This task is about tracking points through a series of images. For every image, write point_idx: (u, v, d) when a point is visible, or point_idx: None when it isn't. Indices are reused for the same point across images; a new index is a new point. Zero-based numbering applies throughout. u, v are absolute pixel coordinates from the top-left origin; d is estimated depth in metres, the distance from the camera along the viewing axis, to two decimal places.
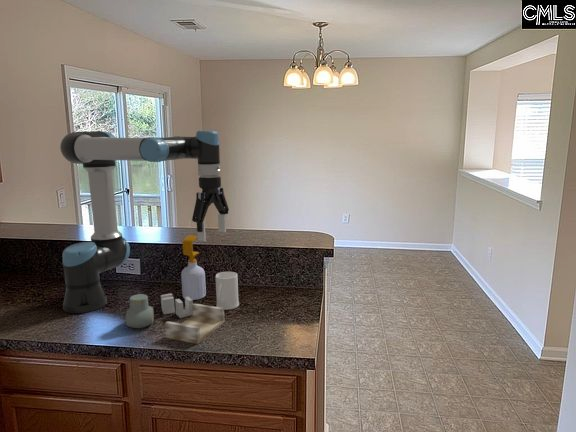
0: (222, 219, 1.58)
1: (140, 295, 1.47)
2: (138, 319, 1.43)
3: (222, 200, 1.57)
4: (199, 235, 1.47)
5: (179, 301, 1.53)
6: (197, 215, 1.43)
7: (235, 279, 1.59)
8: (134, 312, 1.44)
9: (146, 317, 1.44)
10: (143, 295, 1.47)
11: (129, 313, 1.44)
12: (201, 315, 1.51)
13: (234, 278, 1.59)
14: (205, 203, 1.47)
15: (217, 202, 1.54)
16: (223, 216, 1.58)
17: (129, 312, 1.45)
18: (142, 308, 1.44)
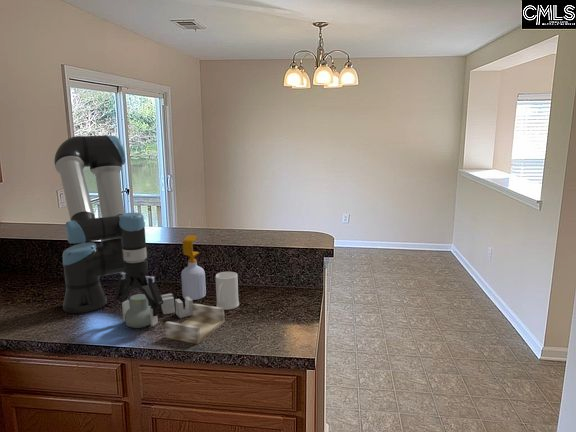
0: None
1: (140, 295, 1.47)
2: (138, 318, 1.42)
3: None
4: None
5: (179, 301, 1.53)
6: None
7: (235, 279, 1.59)
8: (134, 312, 1.44)
9: (146, 316, 1.44)
10: (143, 295, 1.47)
11: (129, 313, 1.44)
12: (201, 315, 1.51)
13: (234, 278, 1.59)
14: None
15: None
16: None
17: (129, 312, 1.45)
18: (142, 307, 1.44)
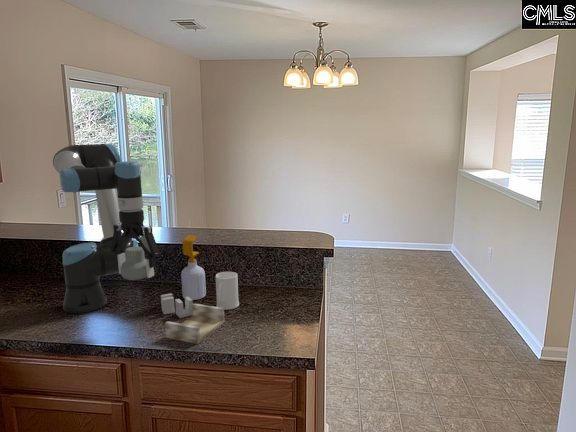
0: None
1: (136, 247, 1.44)
2: (134, 270, 1.39)
3: None
4: None
5: (179, 301, 1.53)
6: None
7: (235, 279, 1.59)
8: (130, 264, 1.41)
9: (142, 268, 1.40)
10: (139, 247, 1.44)
11: (125, 265, 1.41)
12: (201, 315, 1.51)
13: (234, 278, 1.59)
14: None
15: None
16: None
17: (125, 264, 1.41)
18: (138, 259, 1.41)
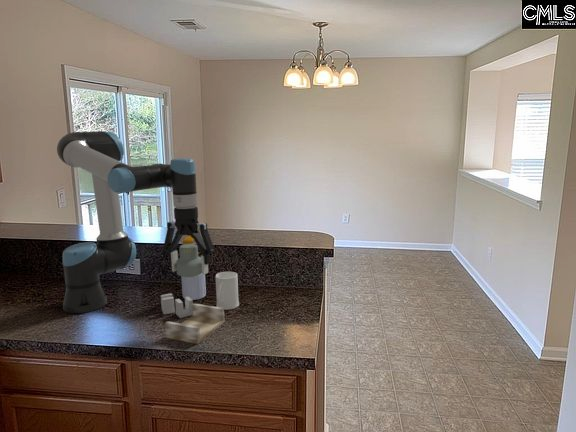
0: None
1: (189, 245, 1.43)
2: (190, 266, 1.39)
3: None
4: None
5: (179, 301, 1.53)
6: None
7: (235, 279, 1.59)
8: (185, 261, 1.40)
9: (197, 265, 1.40)
10: (192, 244, 1.44)
11: (180, 262, 1.40)
12: (201, 315, 1.51)
13: (234, 278, 1.59)
14: None
15: None
16: None
17: (179, 261, 1.41)
18: (192, 256, 1.41)
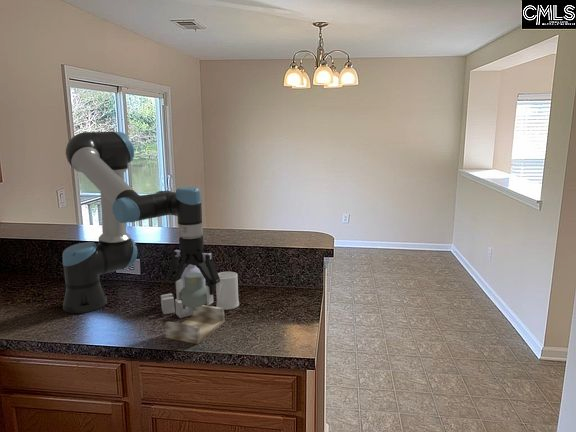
0: None
1: (194, 274, 1.41)
2: (195, 297, 1.37)
3: None
4: None
5: (179, 301, 1.53)
6: None
7: (235, 279, 1.59)
8: (190, 291, 1.38)
9: (202, 295, 1.38)
10: (198, 273, 1.42)
11: (185, 292, 1.38)
12: (201, 315, 1.51)
13: (234, 278, 1.59)
14: None
15: None
16: None
17: (184, 291, 1.39)
18: (198, 286, 1.39)
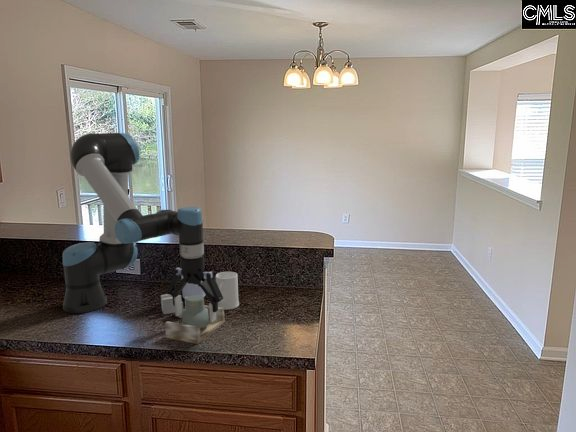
0: None
1: (195, 296, 1.43)
2: (196, 320, 1.38)
3: None
4: None
5: None
6: None
7: (235, 279, 1.59)
8: (191, 314, 1.40)
9: (203, 318, 1.40)
10: (199, 296, 1.43)
11: (186, 315, 1.40)
12: None
13: (234, 278, 1.59)
14: None
15: None
16: None
17: (185, 313, 1.40)
18: (199, 309, 1.40)
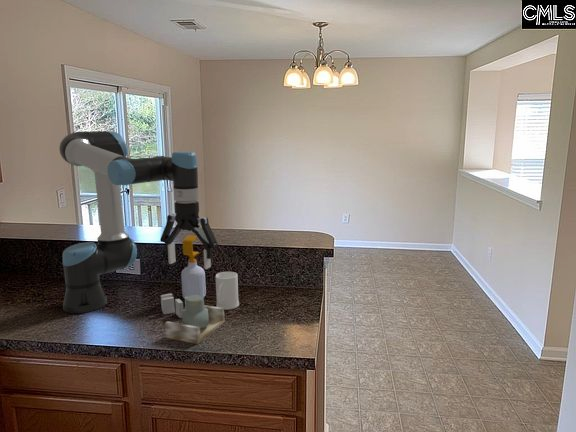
0: None
1: (195, 296, 1.43)
2: (196, 320, 1.38)
3: None
4: None
5: (179, 301, 1.53)
6: None
7: (235, 279, 1.59)
8: (191, 314, 1.40)
9: (203, 318, 1.40)
10: (199, 296, 1.43)
11: (186, 315, 1.40)
12: None
13: (234, 278, 1.59)
14: None
15: None
16: None
17: (185, 313, 1.40)
18: (199, 309, 1.40)
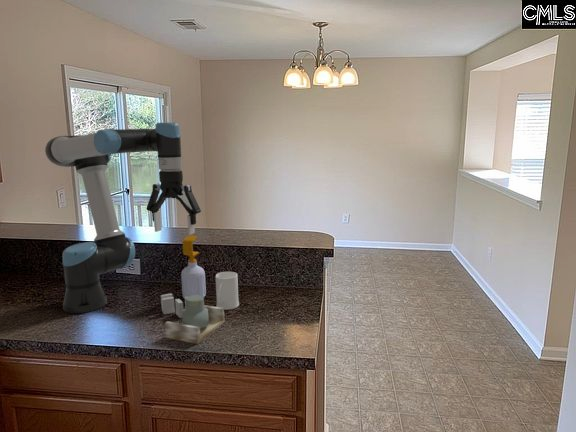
0: None
1: (195, 296, 1.43)
2: (196, 320, 1.38)
3: None
4: None
5: (179, 301, 1.53)
6: None
7: (235, 279, 1.59)
8: (191, 314, 1.40)
9: (203, 318, 1.40)
10: (199, 296, 1.43)
11: (186, 315, 1.40)
12: None
13: (234, 278, 1.59)
14: None
15: None
16: None
17: (185, 313, 1.40)
18: (199, 309, 1.40)
